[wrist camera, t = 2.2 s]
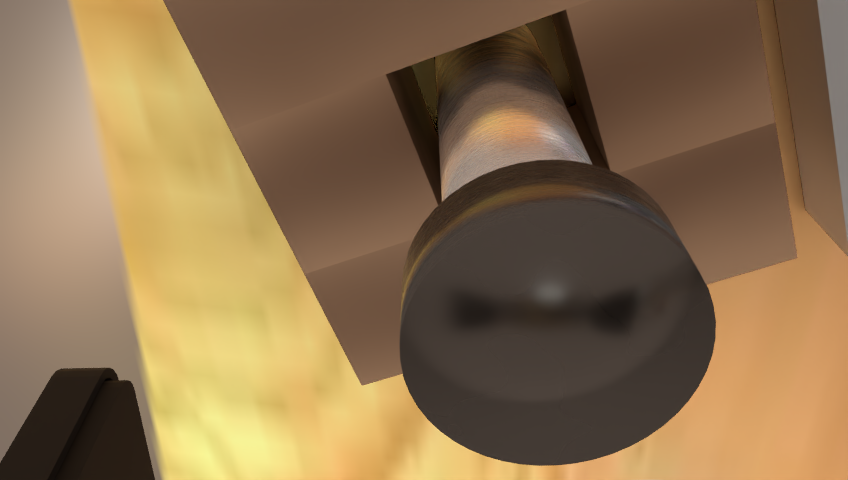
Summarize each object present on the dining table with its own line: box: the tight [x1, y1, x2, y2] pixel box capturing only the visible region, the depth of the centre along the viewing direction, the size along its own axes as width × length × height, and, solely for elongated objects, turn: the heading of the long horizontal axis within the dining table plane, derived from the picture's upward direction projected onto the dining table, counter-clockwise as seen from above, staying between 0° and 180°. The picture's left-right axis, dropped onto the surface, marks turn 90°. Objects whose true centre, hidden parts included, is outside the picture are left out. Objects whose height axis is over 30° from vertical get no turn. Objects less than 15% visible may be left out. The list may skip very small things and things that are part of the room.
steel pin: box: [399, 24, 716, 466], centre depth 17 cm, size 4×4×14 cm
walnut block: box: [163, 0, 797, 385], centre depth 21 cm, size 12×12×5 cm
